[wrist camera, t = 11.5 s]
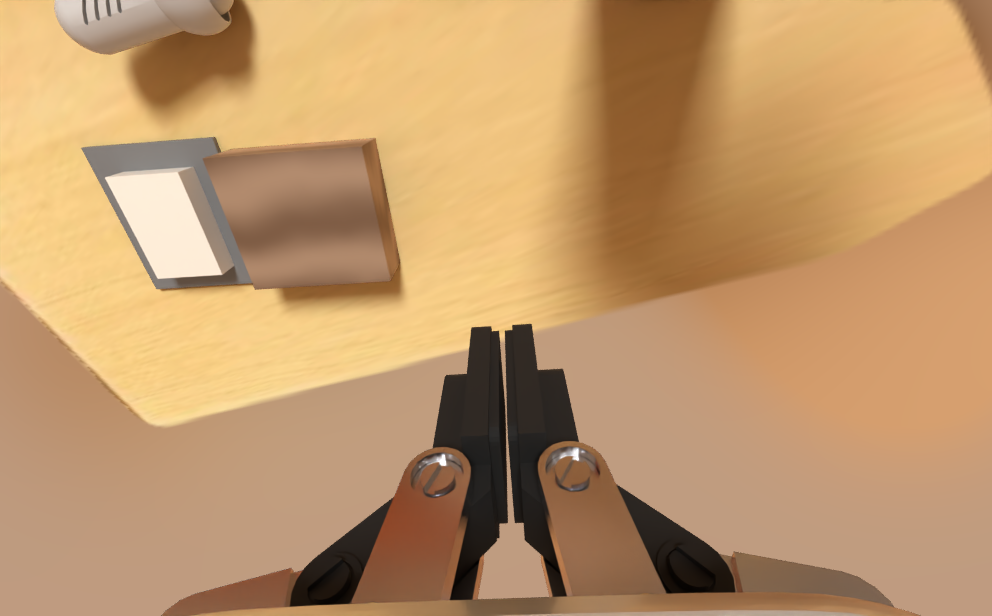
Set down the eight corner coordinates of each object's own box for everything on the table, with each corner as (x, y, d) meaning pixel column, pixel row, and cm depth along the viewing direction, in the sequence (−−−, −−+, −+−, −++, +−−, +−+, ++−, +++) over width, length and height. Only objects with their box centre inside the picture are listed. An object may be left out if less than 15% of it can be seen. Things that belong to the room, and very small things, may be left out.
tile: (177, 172, 33) (193, 166, 35) (104, 177, 34) (124, 171, 35) (222, 274, 38) (234, 265, 40) (157, 278, 38) (172, 269, 40)
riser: (231, 149, 35) (202, 158, 31) (375, 138, 34) (361, 146, 31) (275, 270, 40) (255, 289, 37) (400, 262, 40) (390, 281, 36)
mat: (85, 147, 35) (81, 148, 34) (214, 137, 34) (212, 137, 34) (159, 287, 41) (156, 289, 41) (269, 280, 41) (267, 282, 40)
